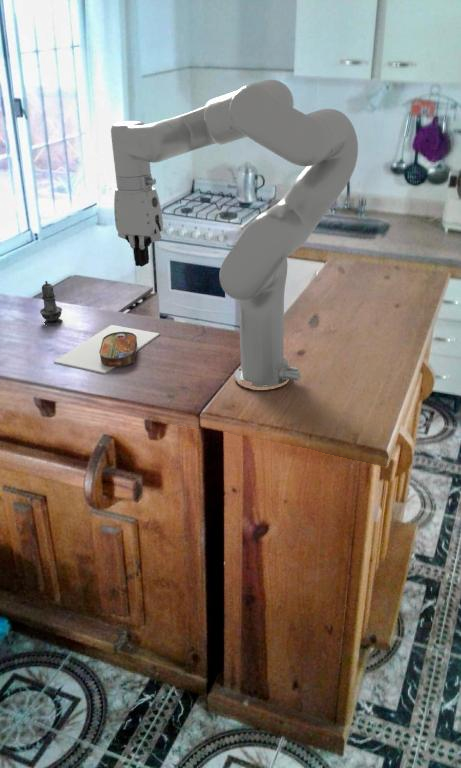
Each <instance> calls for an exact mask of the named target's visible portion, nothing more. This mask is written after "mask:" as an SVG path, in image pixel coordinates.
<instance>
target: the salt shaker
mask: <svg viewBox="0 0 461 768" xmlns="http://www.w3.org/2000/svg"><path fill="white" fill-rule="evenodd" d="M41 292H42V297H41V299H42V300H43V308H41V309H40V311H39V313H40V314H41V316H42V318H43V319H44V321H45V322H44V321H43V322H44V323H45V325H47V326H46V327H49V326H50V327H57V326H60V325H62V324H63V322H64V321H63V319H62V318H61V315H62V311H63V308H62V307H60V306H58V305H57V303H56V295H55V292H54V286H53V284H51V283H49V282H48V281H47V280H45V282H44V284H42V286H41Z"/></svg>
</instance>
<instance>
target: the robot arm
mask: <svg viewBox="0 0 461 768" xmlns="http://www.w3.org/2000/svg"><path fill="white" fill-rule="evenodd" d="M294 105H295V104H294V97H293V94H292V91H291V90H290V88H289V86H287V84H285V83H284V82H282V81H280V80H278V79H277V80H276V79H266V80H262V81H261V80H260V81H257V82H251V83H249V84H246V85H243V86H242V87H240V88H239V89H237V90H235V91H232V92H230V93H226V94H223V95H220V96H217V97H215V98H211V99H209V100H208V101H207V102H206V103H205V106H203V107H199V108H197V109H195V110H193V111H190V112H187V113H184V114H181V115H178V116H175V117H171V118H166V119H162V120H159V121H156V122H152V123H147V124H145V123H144V122H142V121H139V120H125V121H124V120H123V121H118V122H116V123H113V124H112V126H111V128H110V134H111V135H110V136H111V137H110V138H111V143H112V146H111V147H112V154H113V162H114V172H115V173H114V174H115V181H116V183H115V184H116V188H114V189H115V190H114V197H113V198H114V203H113V208H114V209H113V210H114V211H113V212H114V215H113V216H114V222H115V229H116V231H117V236H118V237H119V238H121V239H124V240H126V241H127V243H128V244H129V245H130V248H131V249H133V250H132V251H133V260H134V263H135V267H144V266H146V265H148V264H149V262H150V254H149V247H150V246H151V244H152V243H155V242H159V241H161V240H162V235H161V233H162V231H163V230H164V221H163V213H162V208H161V207H162V206H161V203H160V199H159V196H158V195H159V194H158V191H157V189H156V187H153V185H154V186H155V185H156V184H157V179H156V178H154V177H152V172H151V171H152V170H151V163H153V164H155V163H161V162H163V161H167V160H168V159H171V158H175V157H177V156H181V155H183V154H186V153H189V152H193V151H196V150H198V149H203V148H205V147H208V146H212V145H215V144H218V145H225V144H228V143H231V142H235V141H237V140H241V139H244V138H249V139H250V140H252V141H253V142H255V143H257V144H258V145H260V146H261V147H263V148H265V149H267V150H269V151H270V152H272V153H274V154H275V155H277V156H279V157H281V158H282V159H284V160H286V161H287V162H289V163H291V164H293V165H295V166H300V167H305V168H304V169H303V170H302V171H301V172H300V173H299V175H298V176H297V177H296V179H295V180H294V182H293V184H292V185H291V186H290V188H288V190H287V192H286V193H285V194H284V195H283V197H282V198H281V199H280V200H279V201H278V202H277V203H276V204H275V205H273V206H271V207H269V208H268V209H266V210H264V211H263V212H262V213H260V214H258V215H257V216H256V217H255V218H254V219H253V220H252V221H251V222H250V223H249V224H248V226H246V229H245V230H244V231H243V233H242V234H241V235H240V236H239V238H238V240H237V241H236V242H235V244H234V245H233V247H232V248H231V250H230V251H229V252H228V254H227V255H226V257H225V258H224V260H223V262H222V263H221V266H220V270H219V276H218V277H219V279H218V280H219V284H220V287H221V288H222V291H223V292H224V293H225V294H226V295H227V296H229V298H231V299H234V300H236V301H237V300H238V301H239V302H238V303H239V308H238V311H239V313H238V314H239V342H240V343H239V344H240V345H239V348H240V366H239V367H238V368H237V369H236V370H235V371H234V374H233V375H234V377H235V379H237V381H239V382H241V381H240V380H246V381H249V382H252V385H251V386H255V387H271V386H276V385H279V384H282V383H284V382H286V381H287V380H288V379H290V381H296V382H299V381H300V379H301V371H300V368H299V367H295V366H290V365H289V362H288V361H289V360H288V359H289V358H286V357H285V356H284V349H285V348H284V337H285V335H284V334H285V333H284V332H285V331H284V327H285V326H284V324H285V323H284V321H285V319H284V315H285V309H284V308H285V289H286V281H287V276H288V257H290V256H291V255H292V254H293V253H295V252H296V251H297V250H299V249H300V248H301V247H303V246H304V245H305V243H306V242H307V240H308V239H309V238H310V236H311V234H312V233H313V232H314V230H315V229H316V228H317V227H318V225H319V224H320V223H321V221H322V220H323V219H324V217H325V216H326V214H327V213H328V211H330V209H331V208H332V206H333V205H334V203H335V202H336V201H337V199H338V198H339V196H340V195H341V194H342V192H343V191H344V189H345V188H346V186H347V185H348V184H349V181H350V179H351V178H352V176H353V173H354V171H355V168H356V166H357V162H358V155H359V143H358V142H359V141H358V136H357V133H356V130H355V128H354V125H353V123H352V121H351V120H350V119H349V117H348V116H347V115H346V114H345V113H344V112H342V111H340V110H337V109H333V108H323V109H318V110H315V111H313V112H310V113H306V114H305V113H303V112H301V110H298V109H297V108H294ZM284 357H285V358H284ZM234 377H233V378H234ZM286 378H287V379H286ZM235 379H234V380H235ZM241 383H242V382H241ZM245 383H246V382H245ZM263 385H267V386H263Z"/></svg>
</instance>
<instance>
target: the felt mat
mask: <svg viewBox="0 0 461 768" xmlns="http://www.w3.org/2000/svg"><path fill="white" fill-rule="evenodd" d="M116 332H130V333H133V334H135V335H136V337H137V349H136V352H138V351H140V349H142V348H144V346H146V345H147V344H149V343H150V342H152V341H153V340H154V339H156V338H157V337H159V336H160V332H159V333H158V332H152V331H148V330H142V329H137V328H131V327H125V326H120V325H115V324H114V325H113V324H111V325H108V326H107V327H106V328H104V329H103V330H101V331H99V332H98V333H96V334H95V335H93V336H91V337H90V338H89V339H86V340H85V341H83V342H82V343H80V344H79V345H77V346H75V348H73V349H71V350H69V351H68V352H66V353H64V354H63V355H62V356H60V357H58V358H56V359H55V360H53V363H54V364H57V365H63V366H67V367H70V368H75V369H76V368H77V369H81V370H85V371H89V372H90V371H91V372H96V373H100V374H107V373H109V372H110V371H111V370H114V368H116V367H117V366H111V367H109V366H105V365H104V364H102V362H101V358H100V353H99V352H100V348H101V344H102V340H103V338H104V337H105V336H107V335H109V334H111V333H116Z"/></svg>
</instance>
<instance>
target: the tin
mask: <svg viewBox="0 0 461 768" xmlns="http://www.w3.org/2000/svg"><path fill="white" fill-rule="evenodd" d="M136 349H137V337H136V335H135V334H133V333H130V332H116V333H111V334H109V335H107V336H105V337H104V338H103V340H102V344H101V348H100V352H99V353H100V358H101V362H102V364H104V365H105V366H109V367H111V366H116V367H125V366H128V365H131V364H133V363H134V361H135V359H136V352H137V351H136Z"/></svg>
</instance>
